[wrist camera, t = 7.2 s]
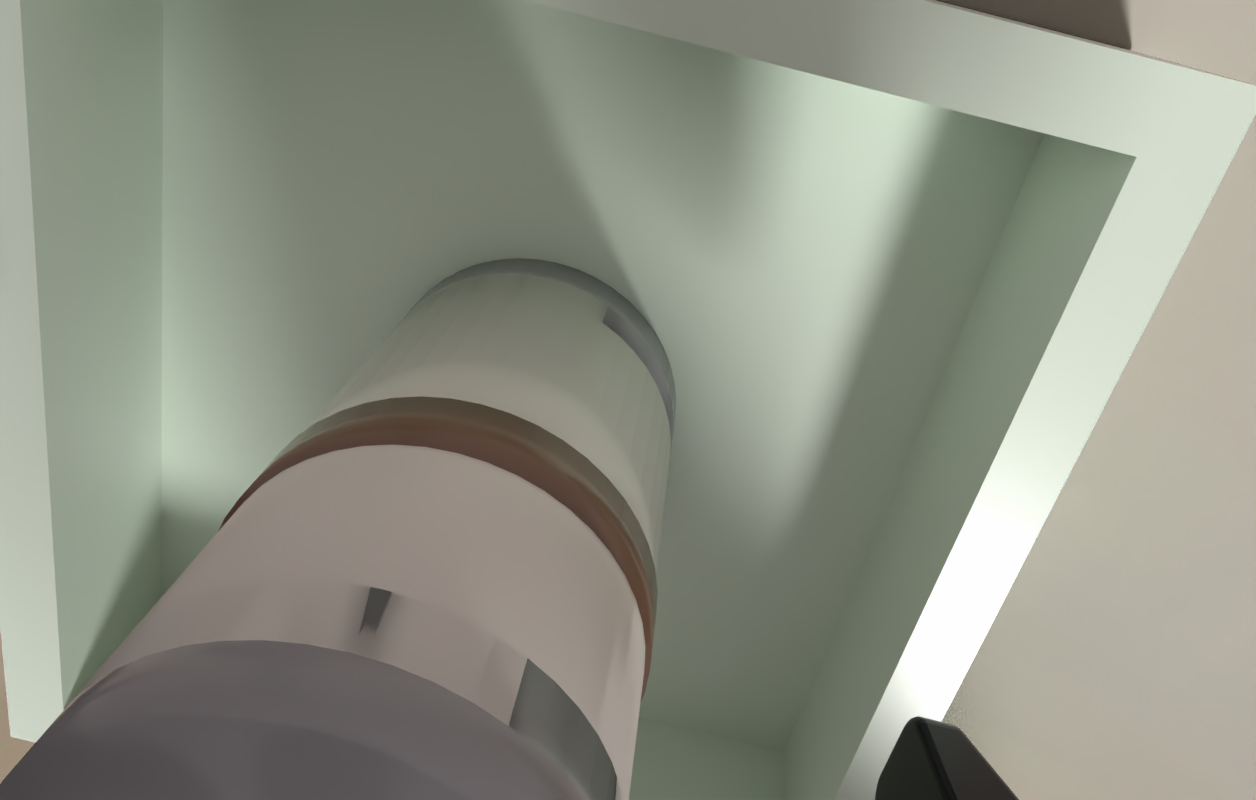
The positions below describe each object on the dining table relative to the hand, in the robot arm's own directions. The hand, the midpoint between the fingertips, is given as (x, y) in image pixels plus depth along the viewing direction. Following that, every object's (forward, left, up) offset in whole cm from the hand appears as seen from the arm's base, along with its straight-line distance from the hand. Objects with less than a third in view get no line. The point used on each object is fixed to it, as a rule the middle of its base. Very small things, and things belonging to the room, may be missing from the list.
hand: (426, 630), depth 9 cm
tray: (0, 0, -6) cm, 6 cm away
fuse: (0, 0, -5) cm, 5 cm away
